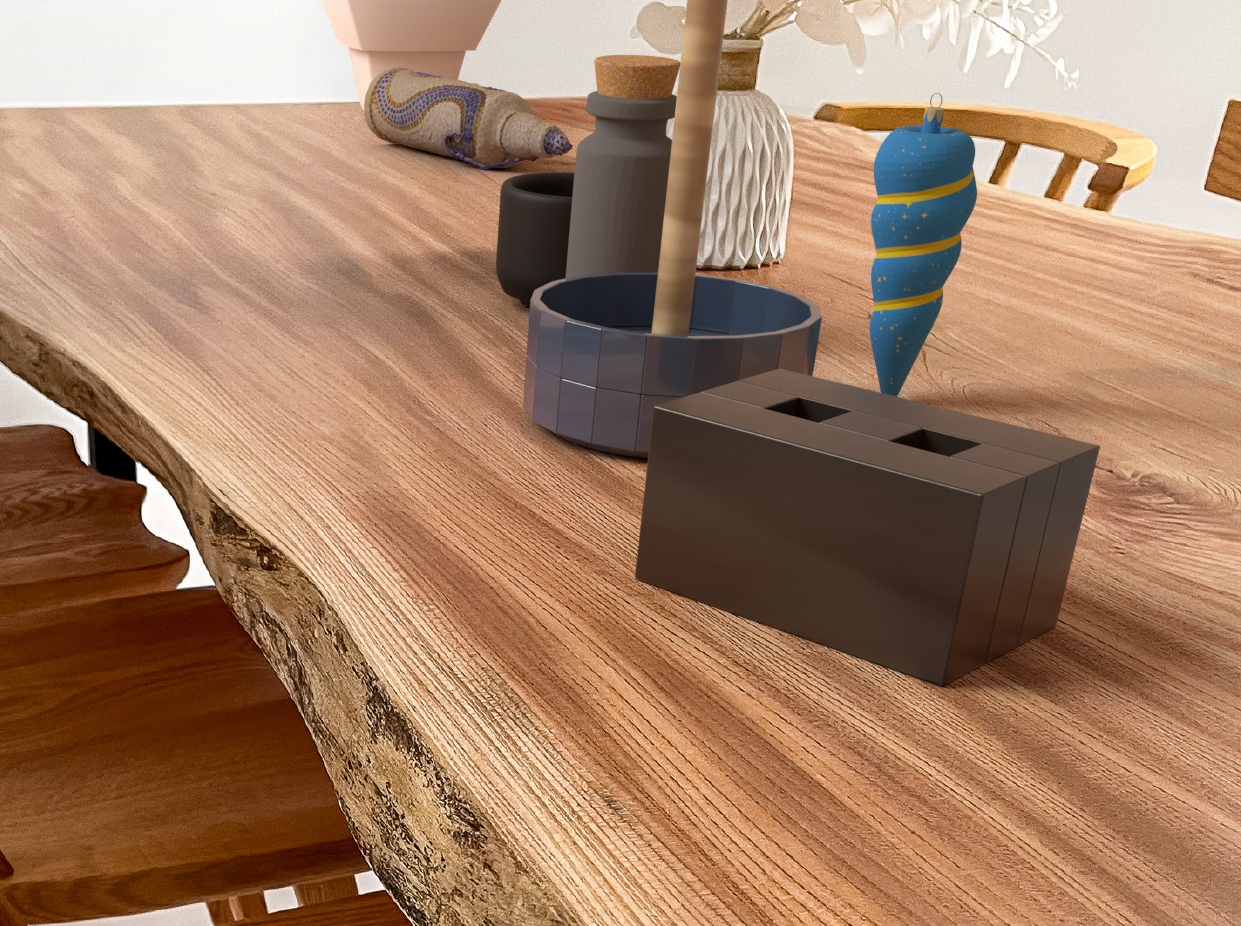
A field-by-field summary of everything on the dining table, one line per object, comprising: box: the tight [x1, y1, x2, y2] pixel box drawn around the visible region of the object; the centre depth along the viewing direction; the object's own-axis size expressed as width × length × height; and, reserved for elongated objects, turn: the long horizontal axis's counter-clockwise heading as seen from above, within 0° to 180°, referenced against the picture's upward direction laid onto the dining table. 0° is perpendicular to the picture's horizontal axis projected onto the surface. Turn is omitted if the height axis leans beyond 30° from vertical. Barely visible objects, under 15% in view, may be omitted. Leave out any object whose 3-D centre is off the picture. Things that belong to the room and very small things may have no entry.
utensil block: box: [634, 369, 1101, 687], centre depth 67 cm, size 8×14×7 cm, turn 44°
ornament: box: [869, 92, 978, 397], centre depth 89 cm, size 5×5×15 cm
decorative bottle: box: [364, 68, 573, 170], centre depth 156 cm, size 26×8×7 cm, turn 33°
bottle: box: [566, 54, 681, 278], centre depth 100 cm, size 6×6×15 cm
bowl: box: [321, 0, 502, 112], centre depth 177 cm, size 19×19×14 cm
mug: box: [495, 171, 575, 308], centre depth 108 cm, size 12×9×7 cm
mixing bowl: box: [522, 272, 823, 459], centre depth 87 cm, size 14×14×6 cm
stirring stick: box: [652, 0, 729, 336], centre depth 83 cm, size 2×2×19 cm
